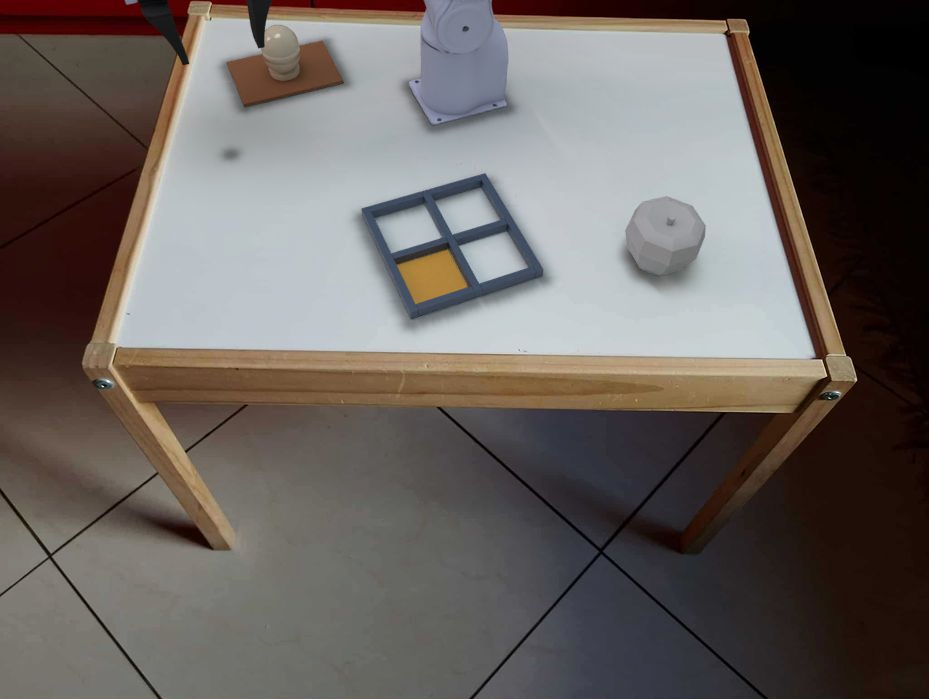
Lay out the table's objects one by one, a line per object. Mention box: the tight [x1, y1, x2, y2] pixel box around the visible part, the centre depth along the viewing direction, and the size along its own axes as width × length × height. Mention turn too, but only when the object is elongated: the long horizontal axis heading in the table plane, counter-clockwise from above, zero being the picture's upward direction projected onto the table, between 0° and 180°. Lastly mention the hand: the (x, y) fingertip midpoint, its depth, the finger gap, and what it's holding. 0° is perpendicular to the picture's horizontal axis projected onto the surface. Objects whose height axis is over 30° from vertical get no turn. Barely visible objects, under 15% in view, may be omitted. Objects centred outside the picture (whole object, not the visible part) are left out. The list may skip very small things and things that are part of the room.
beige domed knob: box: [260, 24, 301, 81], centre depth 87 cm, size 4×4×6 cm
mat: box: [226, 40, 344, 107], centre depth 90 cm, size 12×8×1 cm, turn 113°
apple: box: [624, 195, 707, 277], centre depth 74 cm, size 8×8×7 cm
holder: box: [360, 172, 544, 320], centre depth 76 cm, size 14×14×2 cm
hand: (222, 50), depth 76 cm, fingers open, 7 cm apart
